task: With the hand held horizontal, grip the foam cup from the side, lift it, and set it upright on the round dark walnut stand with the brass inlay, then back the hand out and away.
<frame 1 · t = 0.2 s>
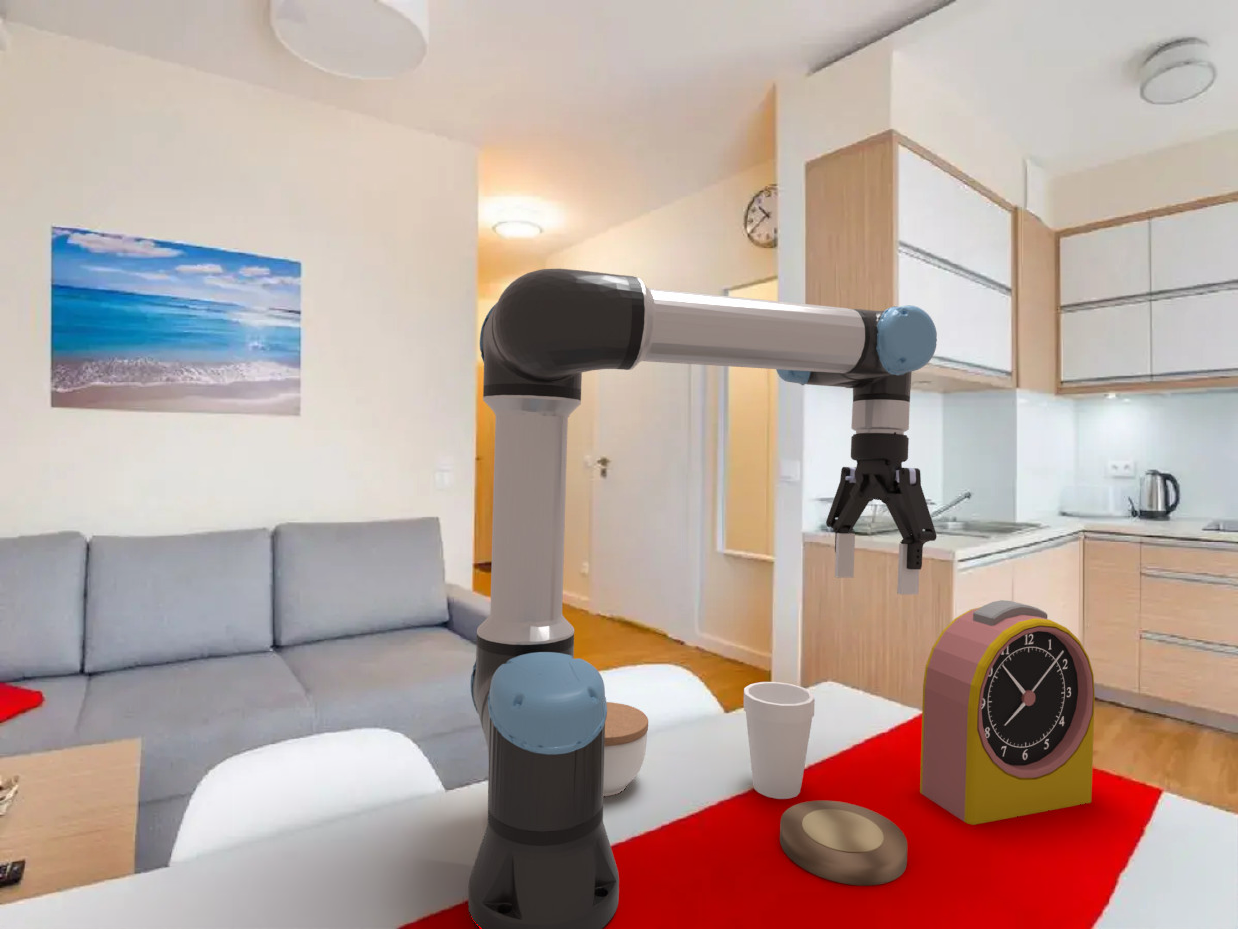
hand: (873, 585, 97), 28 cm above the table, tool pointing down, fingers open, 13 cm apart
lidded bowl: (600, 785, 95), on the table
alarm clock: (1004, 798, 94), on the table
foam cup: (776, 789, 95), on the table
walnut stand: (841, 848, 80), on the table
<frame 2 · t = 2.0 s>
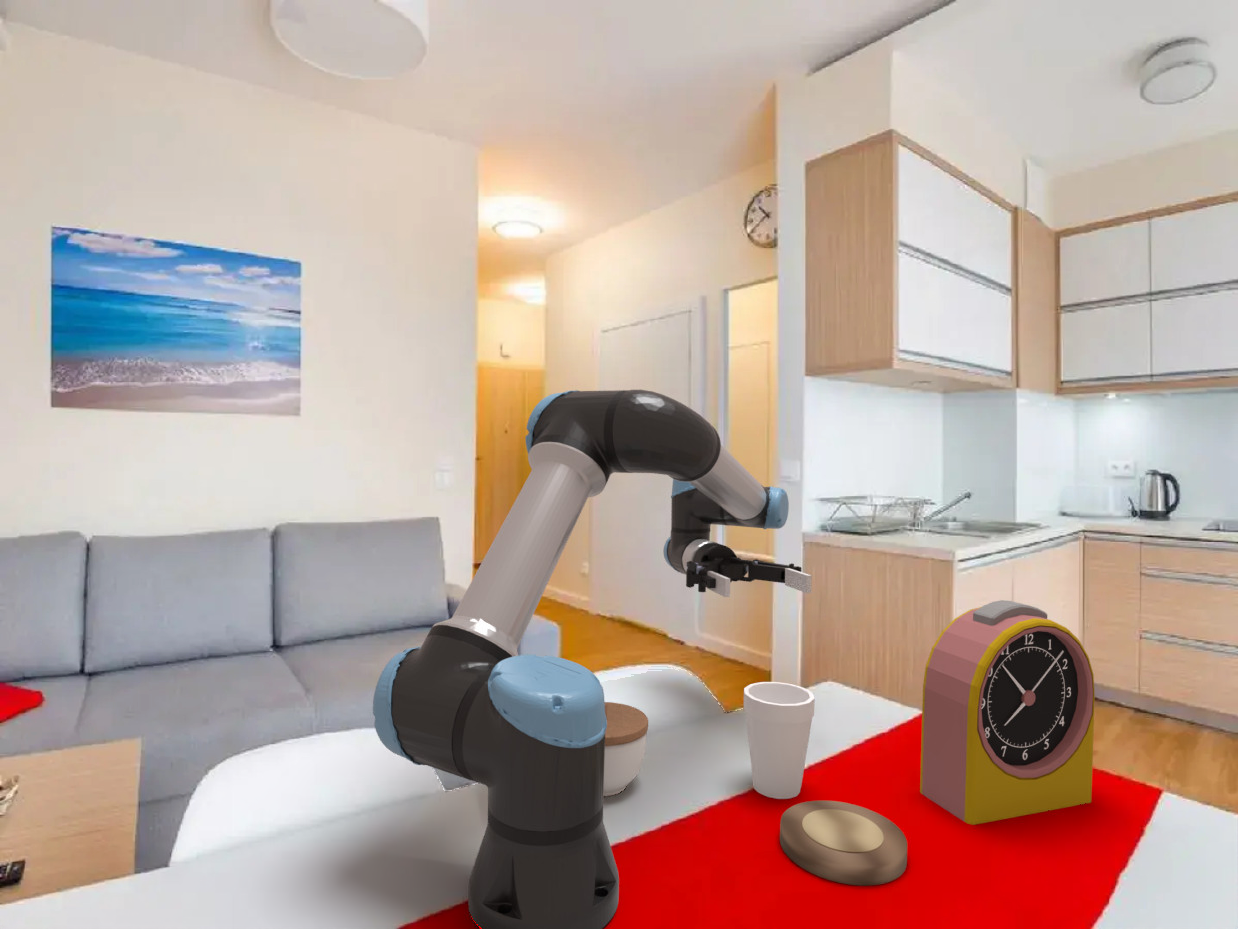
hand: (769, 586, 103), 26 cm above the table, tool horizontal, fingers open, 13 cm apart
nothing on the table moved.
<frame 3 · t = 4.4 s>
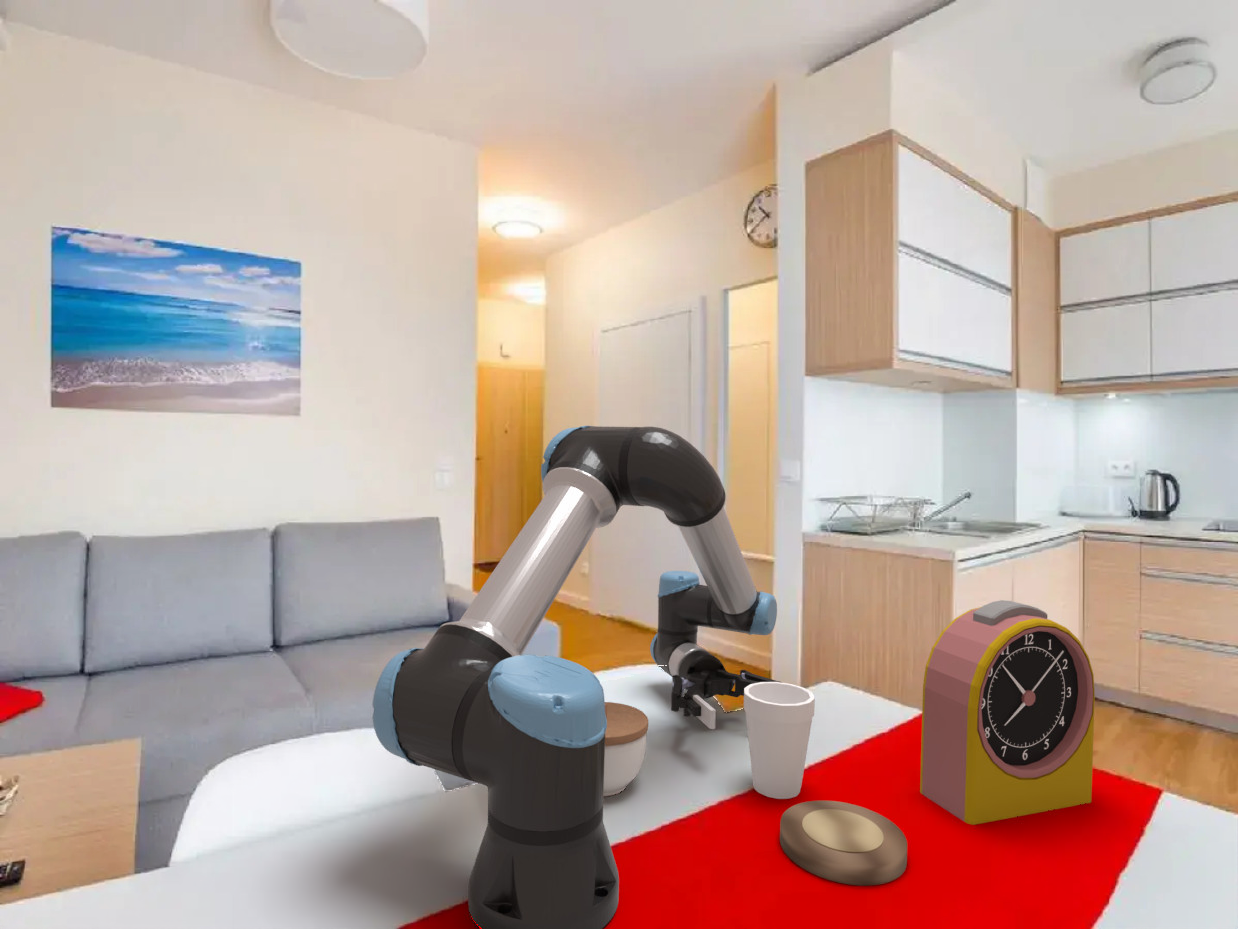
hand: (755, 715, 101), 7 cm above the table, tool horizontal, fingers open, 13 cm apart
nothing on the table moved.
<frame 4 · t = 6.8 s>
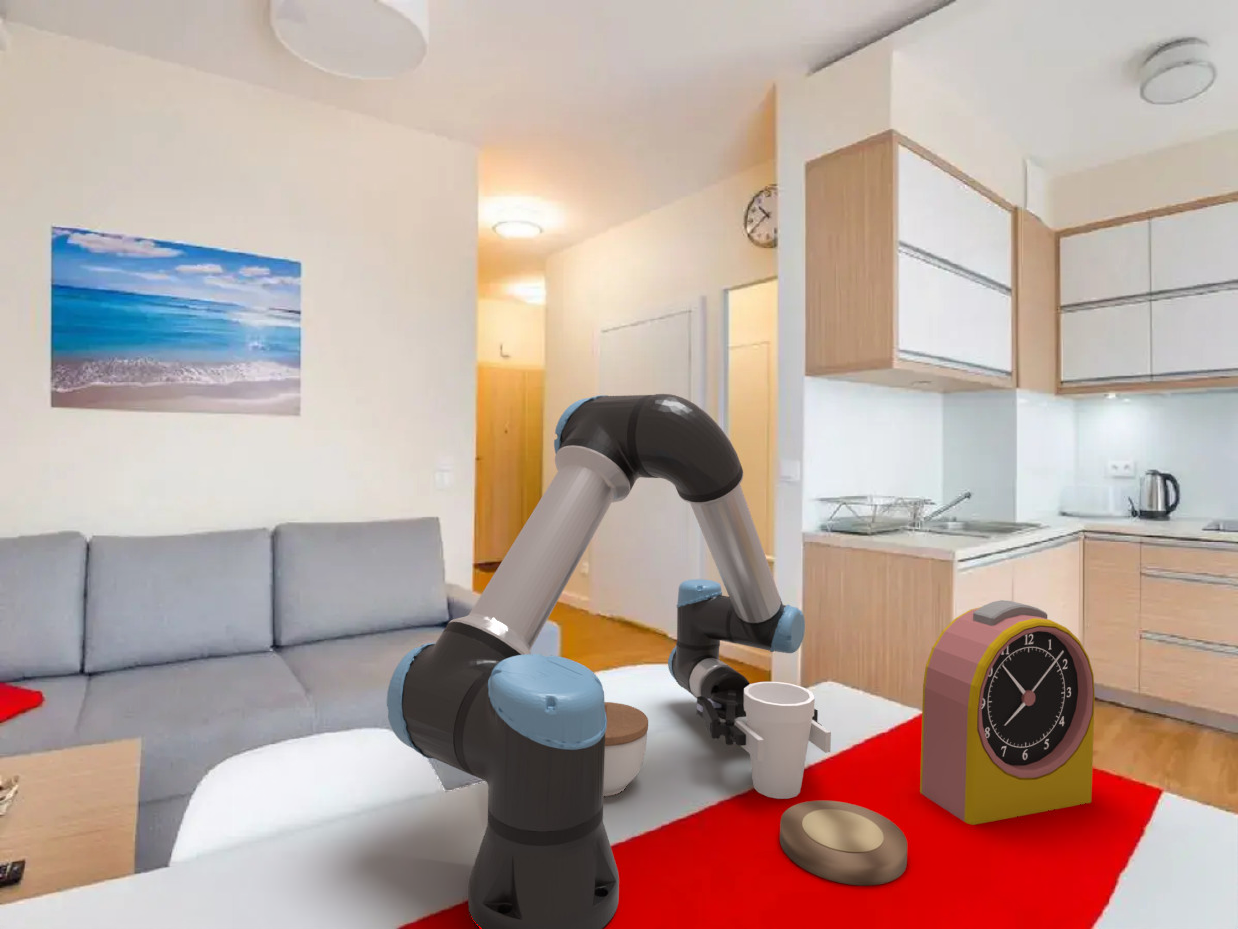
hand: (795, 746, 90), 8 cm above the table, tool horizontal, fingers closed on foam cup, 9 cm apart
foam cup: (776, 788, 95), on the table, touching gripper
everything else where it was.
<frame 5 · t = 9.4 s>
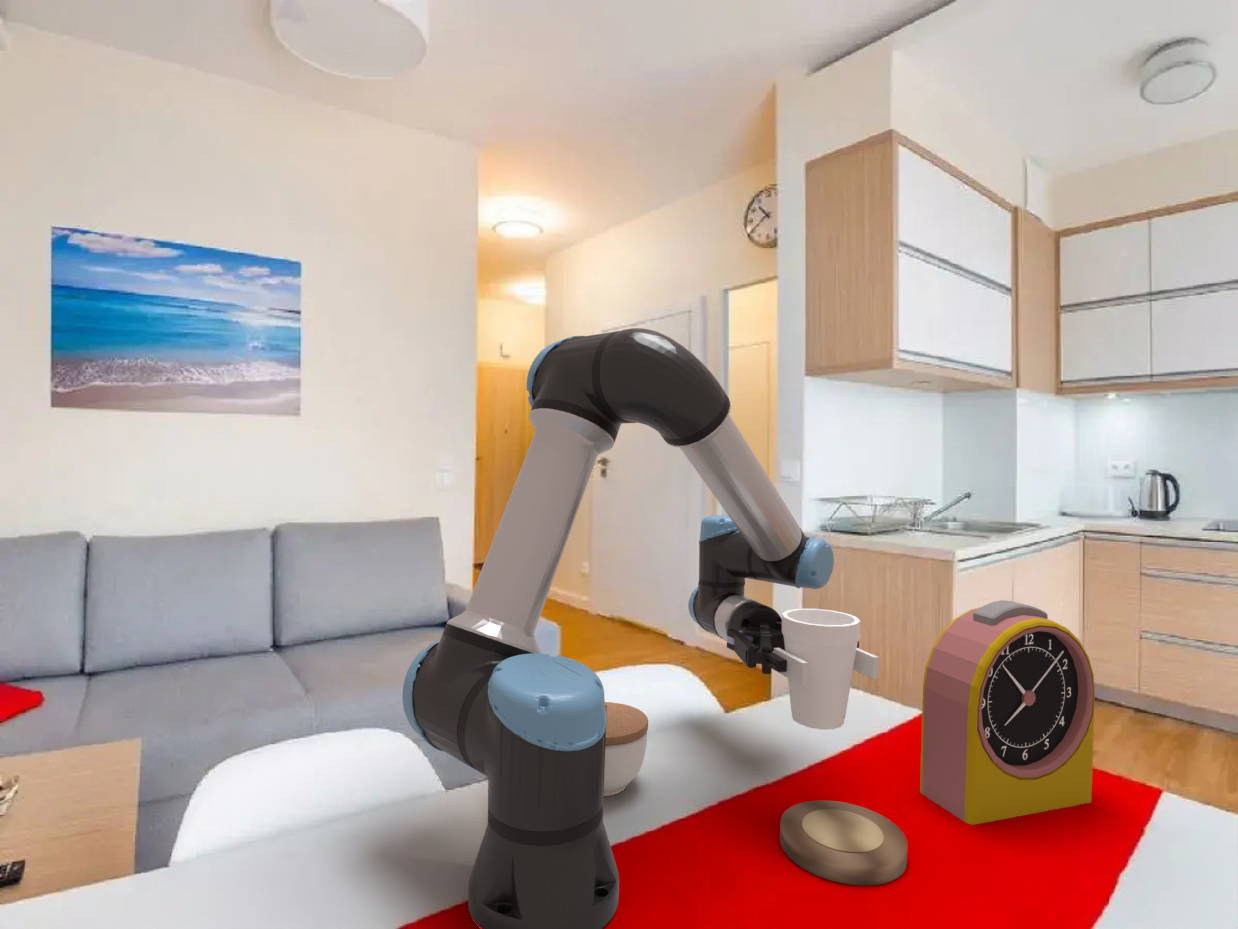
hand: (841, 671, 83), 20 cm above the table, tool horizontal, fingers closed on foam cup, 9 cm apart
foam cup: (817, 721, 87), point 12 cm above the table, touching gripper
everything else where it was.
when the fingers open (11 cm above the table, at t = 12.2 s): foam cup drops 1 cm, resting on walnut stand.
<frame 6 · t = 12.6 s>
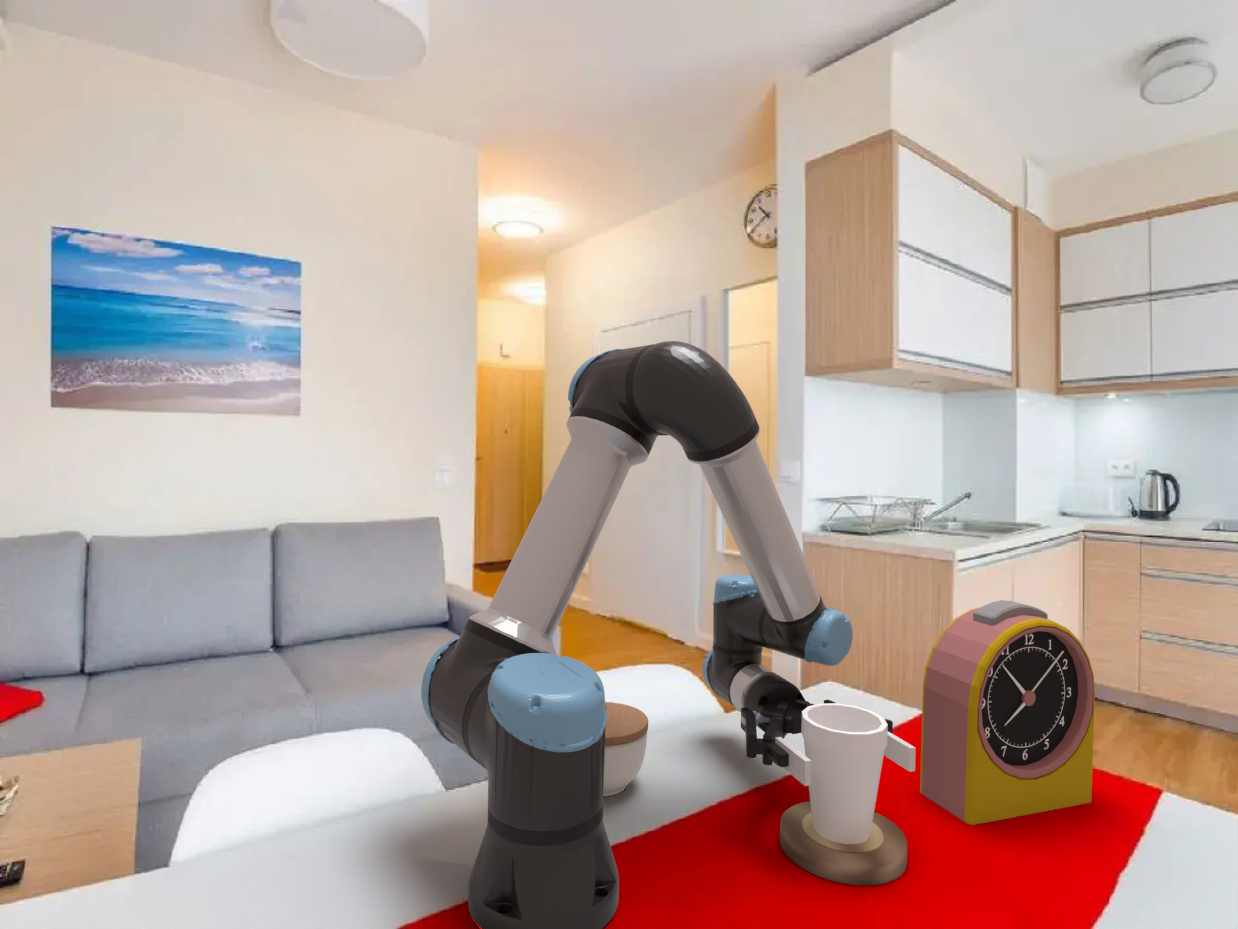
hand: (861, 766, 77), 11 cm above the table, tool horizontal, fingers open, 13 cm apart
foam cup: (840, 830, 80), point 2 cm above the table, touching walnut stand
everything else where it was.
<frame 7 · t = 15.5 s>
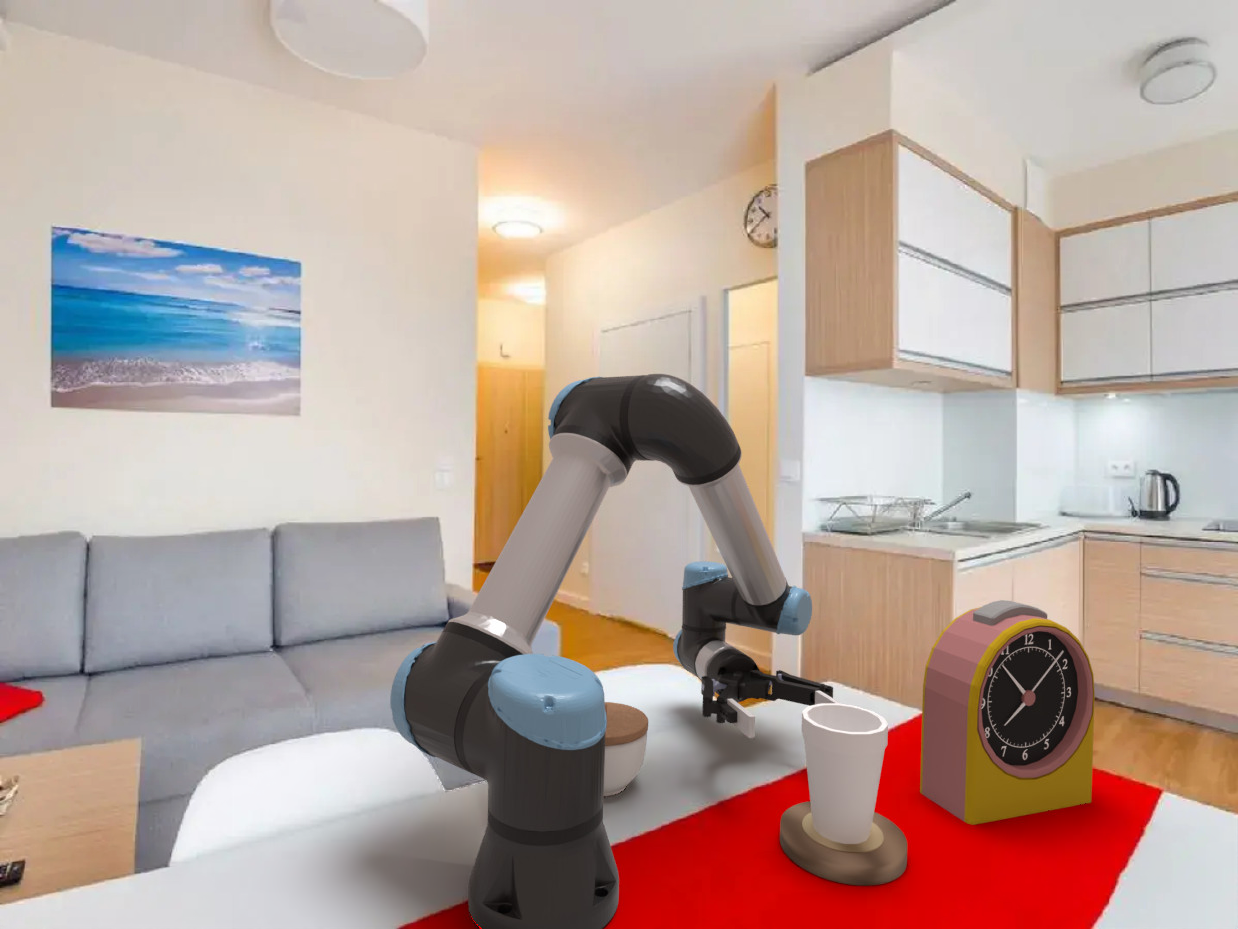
hand: (799, 722, 89), 11 cm above the table, tool horizontal, fingers open, 13 cm apart
nothing on the table moved.
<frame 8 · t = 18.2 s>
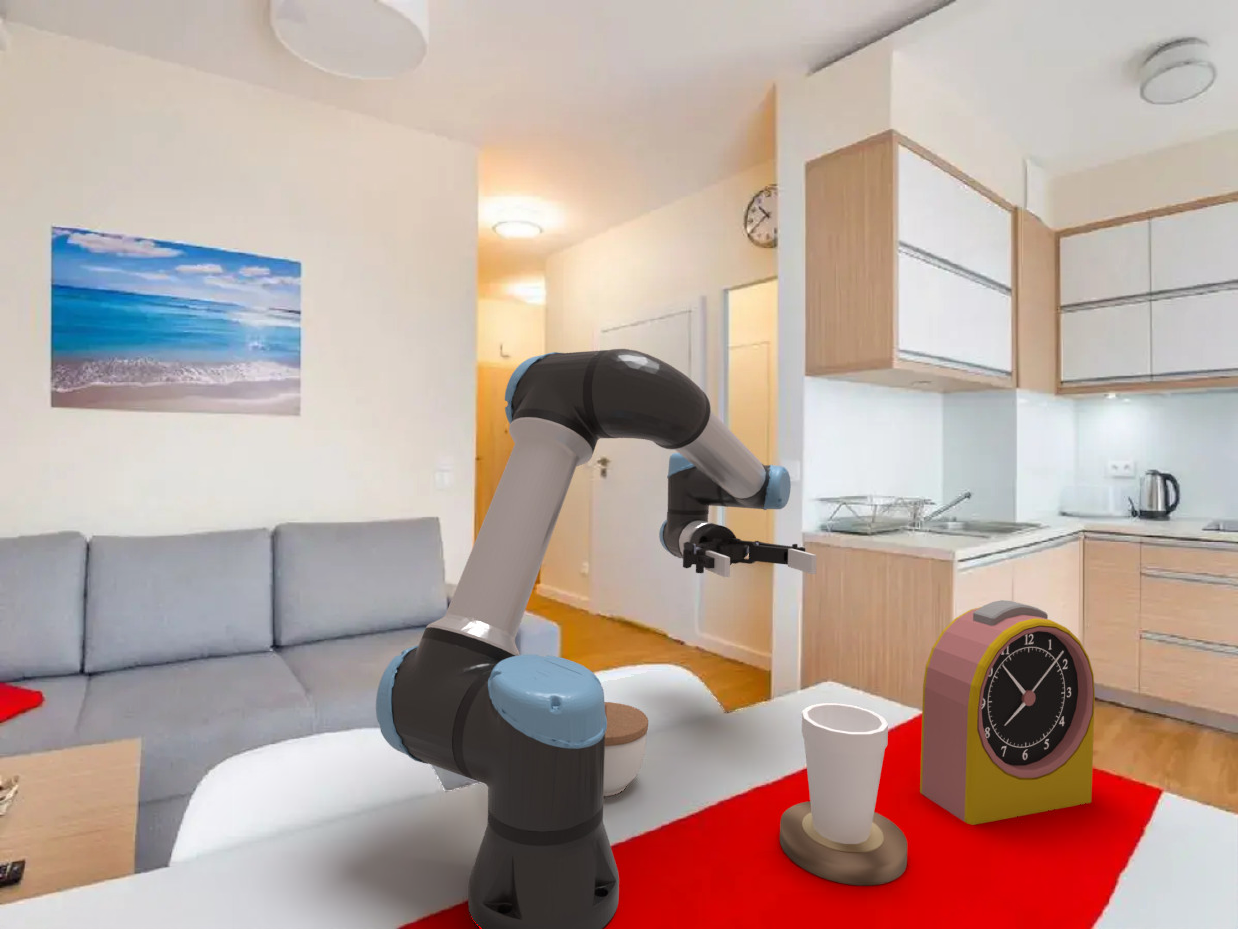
hand: (771, 565, 97), 30 cm above the table, tool horizontal, fingers open, 13 cm apart
nothing on the table moved.
at the end: foam cup 0.1 cm off-centre on the walnut stand, point 2.0 cm above the walnut stand's base; foam cup tilted 0°; the gripper is holding nothing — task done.
